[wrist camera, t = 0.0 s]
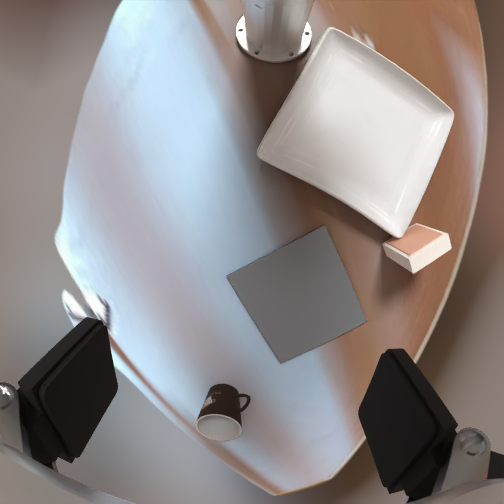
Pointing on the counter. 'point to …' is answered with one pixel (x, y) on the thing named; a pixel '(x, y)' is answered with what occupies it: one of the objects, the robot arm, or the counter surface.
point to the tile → (417, 247)
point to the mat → (299, 295)
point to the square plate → (360, 131)
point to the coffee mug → (221, 414)
